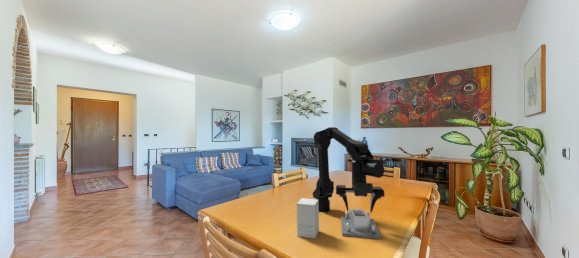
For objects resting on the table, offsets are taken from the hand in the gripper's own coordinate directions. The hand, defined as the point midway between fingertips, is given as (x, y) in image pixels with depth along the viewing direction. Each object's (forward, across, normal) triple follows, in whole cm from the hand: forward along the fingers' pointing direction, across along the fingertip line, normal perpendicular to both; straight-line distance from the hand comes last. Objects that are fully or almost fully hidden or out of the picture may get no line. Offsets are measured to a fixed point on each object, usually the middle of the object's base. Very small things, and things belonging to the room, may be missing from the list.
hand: (359, 211), depth 92 cm
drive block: (+6, 0, 0) cm, 6 cm away
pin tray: (+7, 0, 0) cm, 7 cm away
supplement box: (+7, -20, -9) cm, 23 cm away
